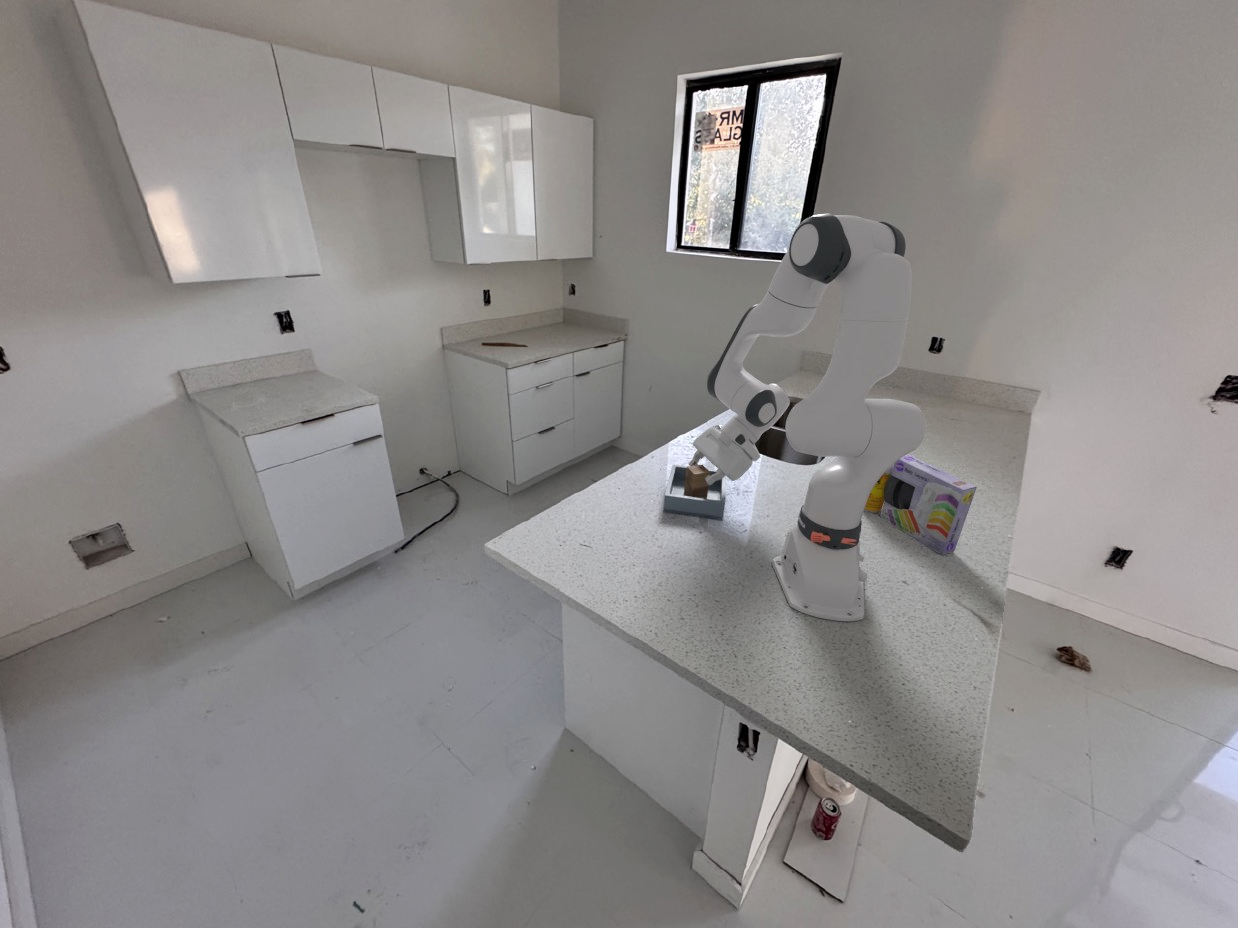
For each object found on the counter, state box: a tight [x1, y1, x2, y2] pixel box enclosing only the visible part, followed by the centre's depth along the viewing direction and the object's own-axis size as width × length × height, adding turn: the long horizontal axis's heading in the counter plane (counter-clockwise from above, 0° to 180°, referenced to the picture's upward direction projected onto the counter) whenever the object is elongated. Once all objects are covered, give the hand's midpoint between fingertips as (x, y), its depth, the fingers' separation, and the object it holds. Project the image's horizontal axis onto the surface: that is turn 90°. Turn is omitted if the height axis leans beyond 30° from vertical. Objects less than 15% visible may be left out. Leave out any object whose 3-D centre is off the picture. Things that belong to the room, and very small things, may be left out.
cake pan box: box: [879, 454, 978, 555], centre depth 119 cm, size 19×5×18 cm, turn 21°
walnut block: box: [684, 464, 711, 499], centre depth 132 cm, size 5×5×8 cm
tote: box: [662, 464, 727, 521], centre depth 133 cm, size 18×15×5 cm
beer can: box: [864, 463, 895, 514], centre depth 130 cm, size 6×6×15 cm
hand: (698, 474), depth 130 cm, fingers open, 8 cm apart
